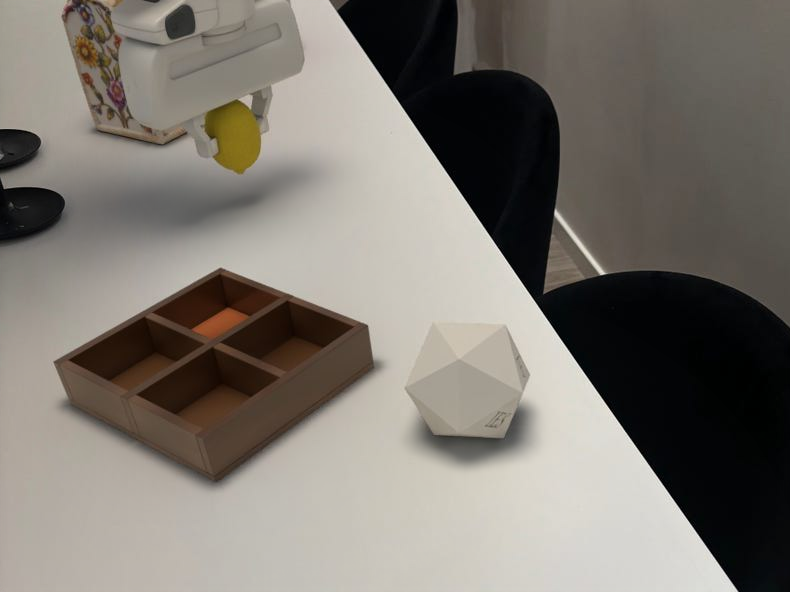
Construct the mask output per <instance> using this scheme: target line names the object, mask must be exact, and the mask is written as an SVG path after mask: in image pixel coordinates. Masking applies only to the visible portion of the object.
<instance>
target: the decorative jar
mask: <svg viewBox="0 0 790 592" xmlns="http://www.w3.org/2000/svg"><path fill="white" fill-rule="evenodd" d="M122 1H123V0H67V1H66V4H65V6H64V7H63V10H62V12H61V15H60V16H61V20H62V22H63V26H64V30H65V33H66V37H67V41H68V44H69V47H70V52H71V54H72V58H73V61H74V63H75V64H74V65H75V68H76V71H77V75H78V78H79V81H80V84H81V87H82V91H83V93H84V97H85V99H86V103H87V106H88V108H89V112H90V114H91V118H92V120H93V123H94V126H95V128H96V130H98V131H100V132H104V133H110V134H113V135H119V136H123V137H127V138H131V139H135V140H136V139H137V140H140V141H145V142H149V143H153V144H156V145H157V144H158V145H165V144H167V143H169V142H171V141H172V140H174V139H177V138H179V137H181V136H183V135H184V134H186V133H188V132H187V131H186V130H185V129H184V128H183V127H182V125H181V124H180V123H179V124H177V125H175V126H172V127H170V128H168V129H165V130H156V129H153V128H149V127H147V126H144V125H142V124H140V123H139V122H138V121H136V120H135V119H134V118H133V117H132V115H131V113H130V111H129V108H128V104H127V100H126V97H125V92H124V88H123V83H122V79H121V73H120V67H119V58H118V54H119V47H120V44H121V42H122V40H123V39H124V38H125V37H126V36H123V35H121V34H118V33H117V32H116V31H115V30H114V28H113V25H112V21H111V12H112V10H113V9H114V8H115V7H116V6H117V5H118V4H119V3H121V2H122ZM206 113H207V112H206ZM206 113H203V115H204V120H205V116H206Z"/></svg>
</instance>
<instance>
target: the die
mask: <svg viewBox="0 0 790 592" xmlns="http://www.w3.org/2000/svg"><path fill="white" fill-rule="evenodd" d="M530 376H531V373H530V371H529V369H528V367H527V365H526V363H525V361H524V360H523V357H522V355H521V353H520V351H519V348H518V347H517V344H516V342H515V341H514V338H513V337H512V335H511V333H510V330H509V329H508V327H507V325H506V324H505V323H482V322H481V323H475V322H453V321H451V322H449V321H447V322H446V321H432V323H431V325H430V327H429V330H428V332H427V334H426V337H425V339H424V341H423V343H422V346H421V348H420V350H419V353H418V355H417V356H416V360H415V362H414V365H413V367H412V369H411V371H410V374H409V376H408V378H407V381H406V382H405V385H404V387H403V388H404V391H406V393H407V395H408V396H409V398H410V399H411V401H412V403H413V404H414V406H415V407H416V409H417V410H418V412H419V414H420V416H421V417H422V418H423V420H424V421H425V423H426V425H427V426H428V428H429V429H430V431H431V432H432V435H434V436H444V437H445V436H447V437H449V436H450V437H467V438H485V439H486V438H487V439H504V438H505V436H506V433H507V432H508V429H509V427H510V425H511V423H512V420H513V418H514V415H515V413H516V411H517V408H518V406H519V403H520V401H521V399H522V396H523V395H524V391H525V389H526V387H527V384H528V382H529V379H530Z"/></svg>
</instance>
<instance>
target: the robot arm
mask: <svg viewBox="0 0 790 592" xmlns="http://www.w3.org/2000/svg"><path fill="white" fill-rule="evenodd" d="M111 21H112V25H113V28H114V30H115V31H116V32H117V33H118V34H121V35H123V36H126V37H125V38H124V39H123V40H122V42H121V44H120V47H119V54H118V58H119V67H120V73H121V79H122V83H123V88H124V92H125V97H126V100H127V104H128V108H129V111H130V113H131V115H132V117H133V118H134V119H135V120H136V121H138V122H139V123H140V124H142V125H144V126H147V127H149V128H153V129H156V130H165V129H168V128H170V127H172V126H175V125H177V124H179V123H180V124H181V125H182V127H183V128H184V129H185V130H186V131H187V132H186V133H187V134H188V135H189V136H190V137H191V138H192V139H193V140H194V144H195V148H196V152H197V155H198V156H199V157H200V158H204V159H206V160H208V159H211V158H213V156H215V155H217V154H219V153H220V149H219V148H218V140H217V137H214V136H210V135H208V134H206V132H205V129H204V128H203V126H204V124H205V120H204V115H203V113H206V112H208V111H211V110H213V109H215V108H218V107H220V106H223V105H225V104H227V103H230V102H232V101H234V100H240V99H242V98H244V97H247V96H248V95H249V96H251V97H252V99H251V106H250V110H251V111H252V113H253V114H254V116H255V118H256V121H257V123H258V126H259V129H260V134H261V135H263V134H265V133H268V132H269V131H270V124H269V120H268V115H269V112H270V107H271V105H272V100H273V96H274V94H273V89H272V86H273V85H276V84H278V83H280V82H283V81H285V80H287V79H289V78H293V77H294V76H297V75H299V74H301V73H302V71H303V68H304V65H305V61H306V60H305V52H304V47H303V43H302V42H303V41H302V37H301V33H300V29H299V25H298V22H297V19H296V15H295V12H294V10H293V8H292V3H291V0H123V1H122V2H121V3H119V4H118V5H117V6H116V7H115V8H114V9H113V10H112V12H111Z"/></svg>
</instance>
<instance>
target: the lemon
mask: <svg viewBox="0 0 790 592" xmlns="http://www.w3.org/2000/svg"><path fill="white" fill-rule="evenodd" d="M203 126H204V128H203V130H204V131H205V132H206V134H208V135H210V136H214V137H217V140H218V148H219V149H220V153H219V154H217V155H215V156H213V157H212V158H213V160H214V161H215V162H216V163H217V164H218V165H219V166H221V167H222V168H223V169H226V170H228V171H233V173H236V174H237V175H243V174H244V173H245V172H246V170H247V169H249V168H251V167H252V166H253V165H254V164H256V161H257V160H258V158H259V156H260V154H261V150H262V134H260V129H259V126H258V123H257V121H256V118H255V116H254V114H253V113H252V111H251V107H249V106H248V105H247V104H246V103H244V102H243V101H241V100H240V99H237V100H234V101H232V102H230V103H227V104H225V105H223V106H220V107H218V108H215V109H213V110H211V111H208V112H207V113H206V116H205V124H204V125H203Z"/></svg>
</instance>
